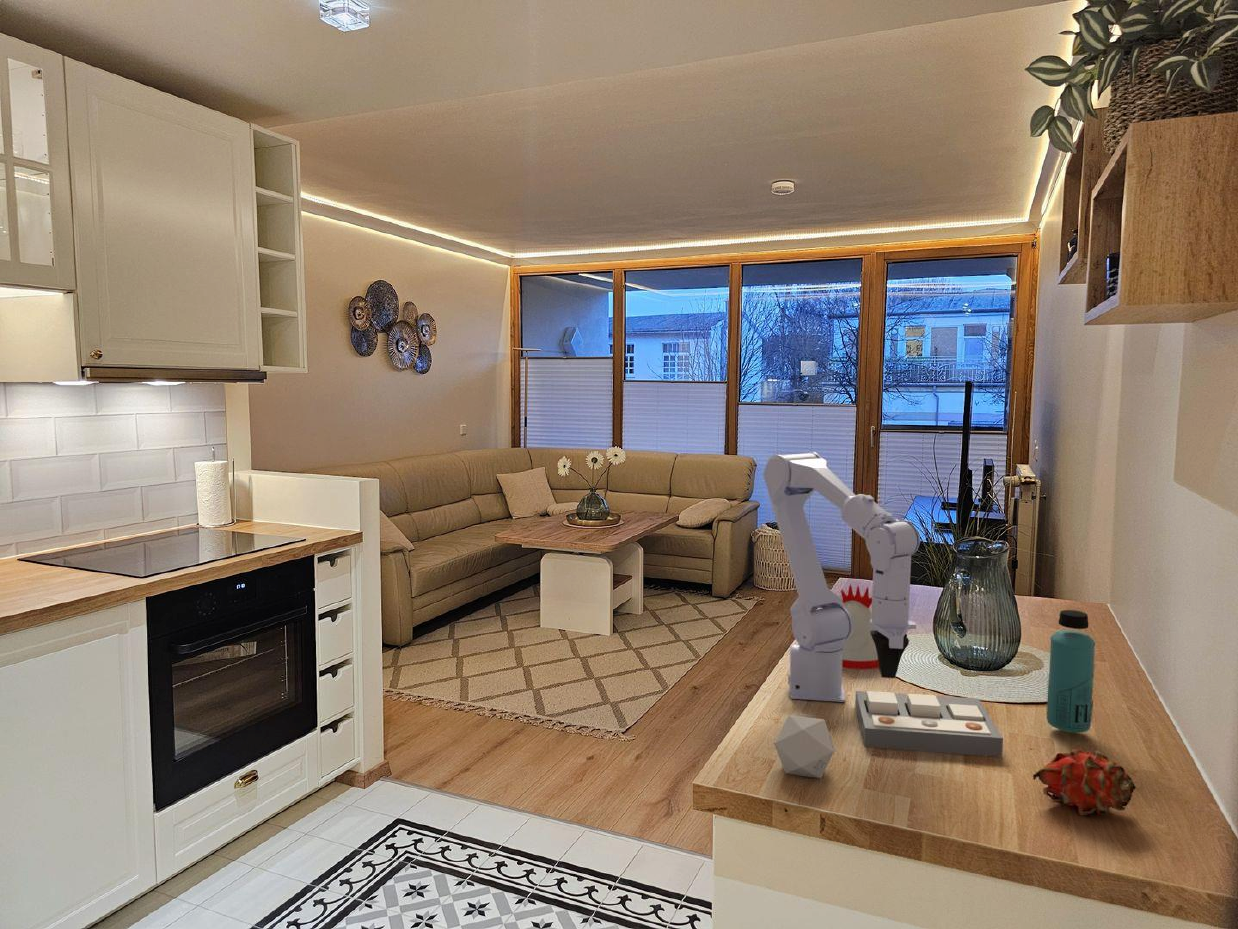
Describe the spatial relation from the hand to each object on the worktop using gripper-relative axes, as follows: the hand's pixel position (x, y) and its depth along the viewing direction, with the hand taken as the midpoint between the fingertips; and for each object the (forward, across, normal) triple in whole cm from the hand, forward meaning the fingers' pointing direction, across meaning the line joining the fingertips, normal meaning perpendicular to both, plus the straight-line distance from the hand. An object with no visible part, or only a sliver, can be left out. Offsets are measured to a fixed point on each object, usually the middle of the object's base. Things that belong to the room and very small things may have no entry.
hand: (887, 676), depth 133 cm
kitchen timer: (+9, +32, +2) cm, 34 cm away
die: (+8, -18, +14) cm, 24 cm away
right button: (+7, 0, -12) cm, 14 cm away
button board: (+8, -1, -6) cm, 10 cm away
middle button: (+6, 0, -6) cm, 8 cm away
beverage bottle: (+8, +2, -28) cm, 29 cm away
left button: (+5, 0, +1) cm, 6 cm away
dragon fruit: (+8, -22, -22) cm, 33 cm away
